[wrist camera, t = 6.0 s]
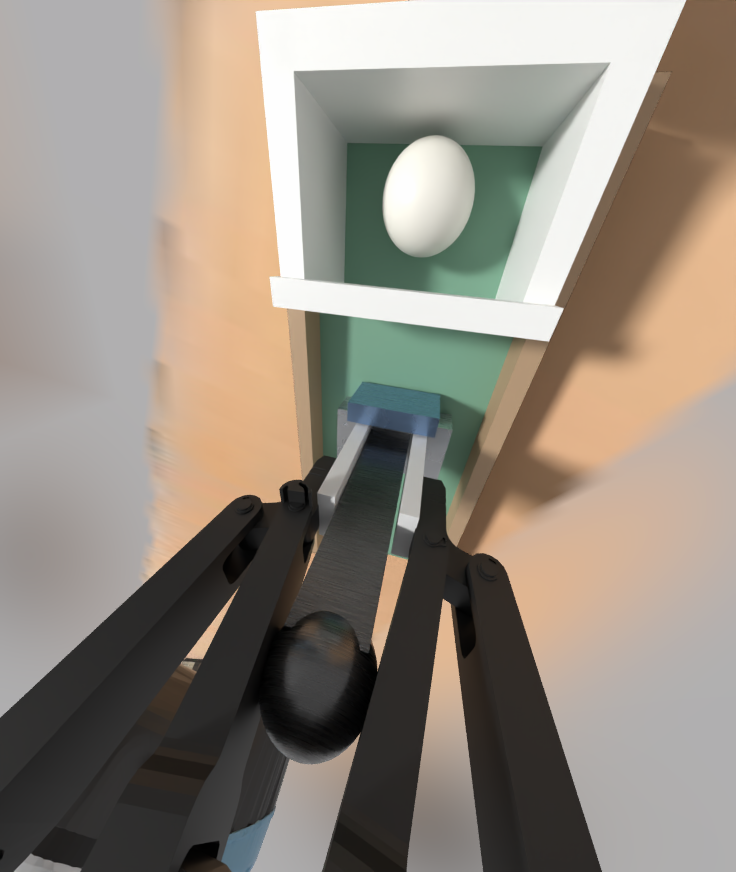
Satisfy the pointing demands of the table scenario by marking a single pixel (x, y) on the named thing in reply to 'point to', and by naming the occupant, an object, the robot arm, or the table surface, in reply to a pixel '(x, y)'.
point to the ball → (428, 196)
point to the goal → (452, 132)
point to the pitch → (431, 346)
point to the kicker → (347, 582)
